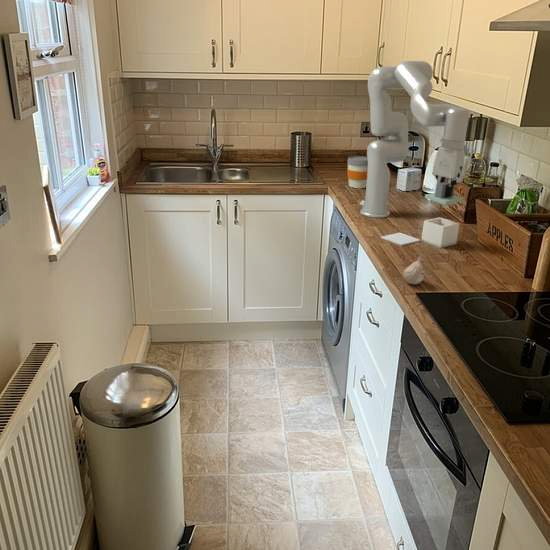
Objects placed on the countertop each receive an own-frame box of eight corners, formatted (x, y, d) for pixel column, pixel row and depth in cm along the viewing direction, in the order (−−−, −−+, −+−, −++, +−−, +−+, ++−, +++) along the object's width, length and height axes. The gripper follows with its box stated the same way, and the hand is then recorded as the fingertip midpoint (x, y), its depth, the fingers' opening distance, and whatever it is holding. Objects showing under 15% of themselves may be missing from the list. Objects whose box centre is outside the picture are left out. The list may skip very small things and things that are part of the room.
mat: (380, 238, 212) (380, 236, 212) (399, 233, 218) (399, 232, 217) (401, 245, 204) (401, 244, 204) (420, 241, 210) (420, 239, 210)
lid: (424, 200, 205) (427, 181, 202) (441, 197, 210) (444, 178, 207) (444, 207, 198) (448, 187, 195) (461, 203, 203) (465, 184, 200)
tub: (421, 241, 210) (424, 220, 207) (437, 237, 214) (439, 217, 211) (440, 248, 203) (443, 227, 200) (456, 244, 208) (459, 223, 205)
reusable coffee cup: (343, 188, 285) (345, 159, 279) (348, 183, 296) (350, 155, 290) (367, 191, 281) (370, 161, 276) (371, 185, 292) (374, 157, 287)
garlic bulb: (427, 285, 170) (431, 261, 167) (409, 288, 168) (412, 263, 165) (415, 277, 176) (418, 253, 173) (397, 280, 174) (400, 256, 171)
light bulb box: (410, 187, 292) (412, 167, 288) (419, 190, 287) (422, 169, 282) (395, 189, 286) (397, 168, 282) (405, 192, 281) (407, 171, 277)
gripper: (427, 141, 199) (419, 191, 207) (465, 149, 187) (455, 202, 195) (441, 139, 203) (433, 189, 211) (479, 148, 191) (469, 200, 199)
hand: (444, 195), depth 202 cm, fingers closed on lid, 2 cm apart
